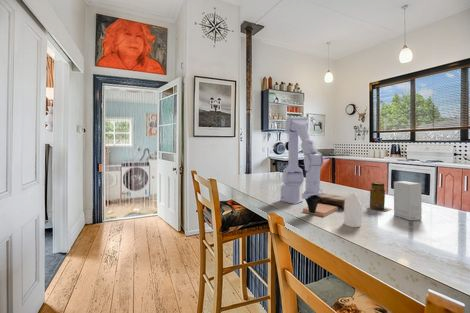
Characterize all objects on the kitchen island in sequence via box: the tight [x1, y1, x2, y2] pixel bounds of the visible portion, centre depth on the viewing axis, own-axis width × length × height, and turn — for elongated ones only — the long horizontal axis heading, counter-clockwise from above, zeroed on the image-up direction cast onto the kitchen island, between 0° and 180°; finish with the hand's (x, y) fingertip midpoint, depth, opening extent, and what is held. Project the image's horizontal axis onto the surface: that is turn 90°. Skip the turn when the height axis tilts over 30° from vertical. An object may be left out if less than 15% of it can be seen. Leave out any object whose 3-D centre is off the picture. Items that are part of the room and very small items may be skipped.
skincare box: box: [393, 180, 423, 221], centre depth 101 cm, size 8×6×15 cm
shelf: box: [317, 192, 349, 211], centre depth 121 cm, size 15×8×4 cm, turn 46°
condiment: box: [365, 181, 392, 212], centre depth 115 cm, size 7×8×12 cm
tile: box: [302, 202, 339, 218], centre depth 111 cm, size 10×14×2 cm
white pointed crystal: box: [343, 193, 363, 228], centre depth 93 cm, size 6×12×6 cm
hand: (312, 212), depth 106 cm, fingers closed
